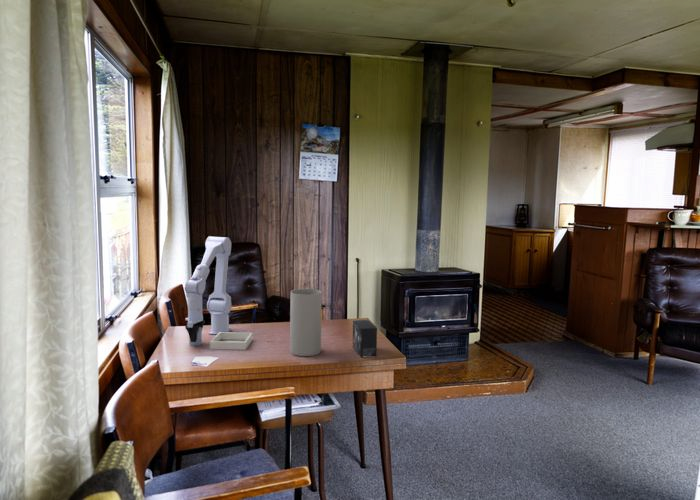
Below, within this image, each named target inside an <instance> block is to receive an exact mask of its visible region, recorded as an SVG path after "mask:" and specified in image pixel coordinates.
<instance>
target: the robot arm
mask: <svg viewBox="0 0 700 500" xmlns="http://www.w3.org/2000/svg"><path fill="white" fill-rule="evenodd" d="M204 244H205V245H204V246H205V252H204V253H203V258H202V259H201V263H200V264H198V265H197V266H196V267H195V269H194V272H192V273H193V274H192V276H191V278H190V279H189V280H187V281H186V283H185V286H184V291H185V293H186V298H187V317H185V320H184V321H187V323H186V325H185V326H184V327H185V330H186V331H187V333H188V338H189V337H190V341H191V342H196V340H197V333H198V330H199V327H202V329H203V328H204V325H205V323H206V320H204V315H203V293H204V292H205V291H206V284H207V282H206V280H207V278H208V276H209V274H210V271H211V270H210V266H211V264H212V262H213V261H214V259H215V257H216V265H215V275H214V276H215V277H214V289H213V292H212V293H211V294H209V295H208V300H207V302H206V309H207V311H208V312H209V314H210V319H211V320H210V321H211V322H210V325H211V328H210V329H211V330H210V331H209V332H208V335H217V334H218V333H219V332H230V331H231V329H232V328H231V327H230V325H229V323H230V317H229V314H230V311H231V310H232V307H233V306H232V296H231V295H229V293H227V292H226V291H227V281H228V270H229V268H228V267H229V257H230V256H231V253H232V252H231V251H232V241H231V239H230V238H229V237H228V236H227V237H223V236H211V235H209V236H208V237H207V238H206V239H205V243H204Z"/></svg>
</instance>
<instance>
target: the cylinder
mask: <svg viewBox="0 0 700 500" xmlns="http://www.w3.org/2000/svg"><path fill="white" fill-rule="evenodd" d="M202 330H203V328H202V327H199V330H198V333H197V340H196V342H191V341H190V337H189V336H188V338H189V341H188V342H189V346H190V347H198V346H202V344H203V337H202V335H203V332H202Z"/></svg>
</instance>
